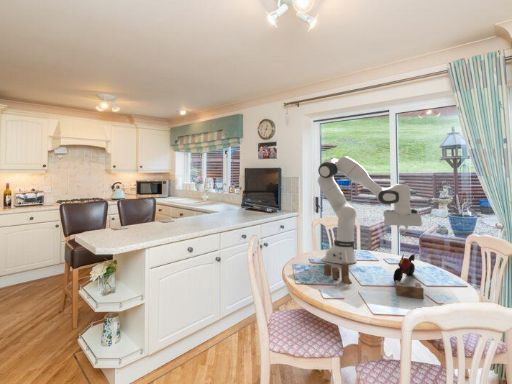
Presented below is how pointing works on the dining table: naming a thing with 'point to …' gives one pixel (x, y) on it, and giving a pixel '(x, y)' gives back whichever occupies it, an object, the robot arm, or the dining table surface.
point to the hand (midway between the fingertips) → (402, 232)
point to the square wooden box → (409, 290)
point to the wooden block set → (338, 272)
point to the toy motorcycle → (404, 268)
